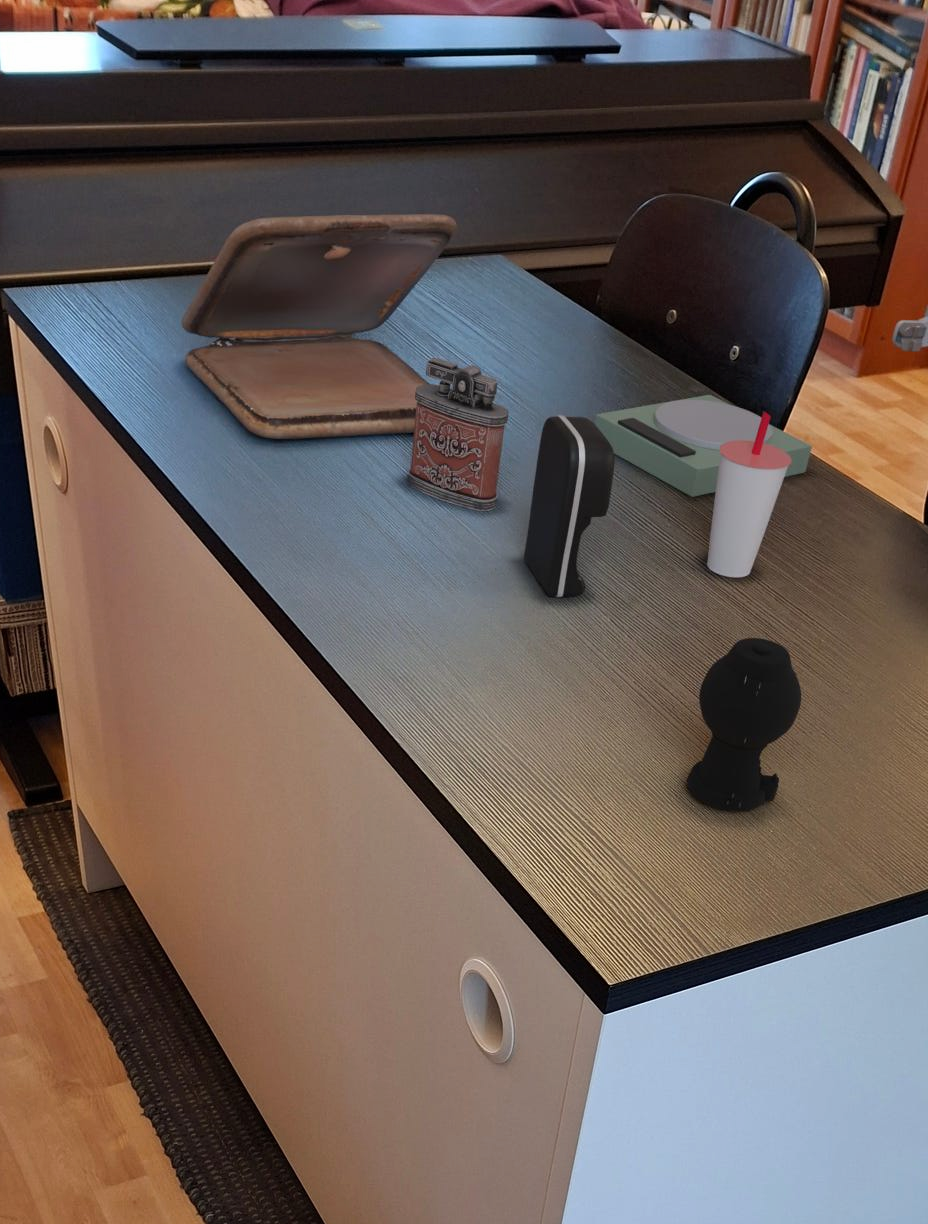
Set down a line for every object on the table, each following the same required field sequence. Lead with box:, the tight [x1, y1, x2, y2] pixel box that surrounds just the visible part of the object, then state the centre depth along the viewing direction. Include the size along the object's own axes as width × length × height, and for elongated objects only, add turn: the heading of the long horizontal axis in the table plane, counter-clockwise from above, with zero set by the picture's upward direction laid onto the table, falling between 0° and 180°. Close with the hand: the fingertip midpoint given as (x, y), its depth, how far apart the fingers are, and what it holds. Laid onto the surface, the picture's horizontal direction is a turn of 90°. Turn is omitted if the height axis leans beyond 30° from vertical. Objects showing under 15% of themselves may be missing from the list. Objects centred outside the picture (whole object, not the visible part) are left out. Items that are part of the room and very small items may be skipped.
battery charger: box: [523, 414, 616, 598], centre depth 115 cm, size 7×4×11 cm, turn 15°
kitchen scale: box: [594, 394, 813, 498], centre depth 139 cm, size 14×13×3 cm
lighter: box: [406, 356, 510, 512], centre depth 125 cm, size 8×3×10 cm, turn 58°
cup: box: [706, 410, 792, 578], centre depth 119 cm, size 5×5×12 cm
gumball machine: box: [686, 627, 802, 819], centre depth 94 cm, size 7×6×10 cm
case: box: [181, 213, 458, 440], centre depth 136 cm, size 20×21×16 cm
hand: (927, 357), depth 116 cm, fingers open, 8 cm apart
